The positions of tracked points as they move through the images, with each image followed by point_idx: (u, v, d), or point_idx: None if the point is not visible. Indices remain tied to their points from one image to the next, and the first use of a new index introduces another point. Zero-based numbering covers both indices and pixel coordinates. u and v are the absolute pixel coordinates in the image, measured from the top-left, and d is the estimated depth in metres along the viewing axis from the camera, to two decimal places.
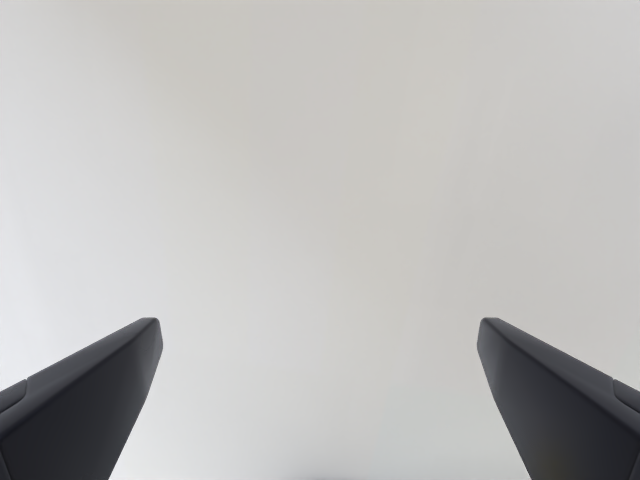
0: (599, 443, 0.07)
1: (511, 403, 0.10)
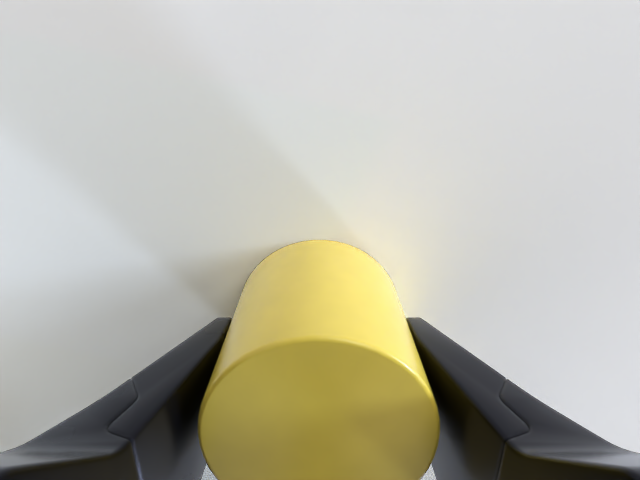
0: (477, 444, 0.07)
1: None
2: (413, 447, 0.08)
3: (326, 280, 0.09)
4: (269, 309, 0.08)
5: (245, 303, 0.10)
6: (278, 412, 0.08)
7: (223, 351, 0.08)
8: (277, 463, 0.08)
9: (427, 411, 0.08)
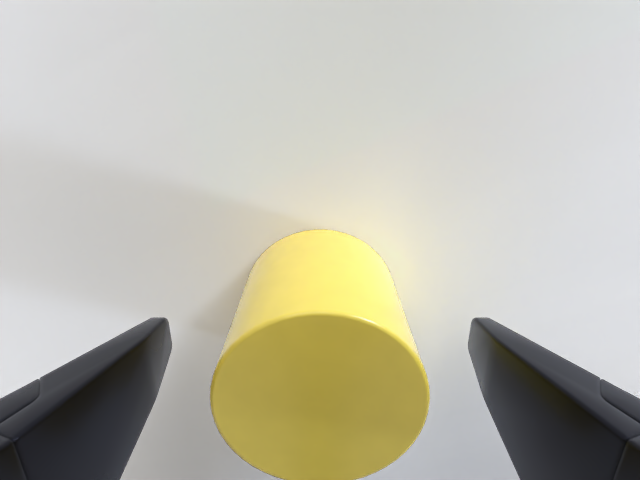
0: (584, 444, 0.07)
1: (500, 403, 0.10)
2: (405, 414, 0.09)
3: (327, 264, 0.10)
4: (274, 289, 0.09)
5: (252, 286, 0.11)
6: (282, 381, 0.09)
7: (232, 328, 0.09)
8: (282, 429, 0.09)
9: (417, 380, 0.09)
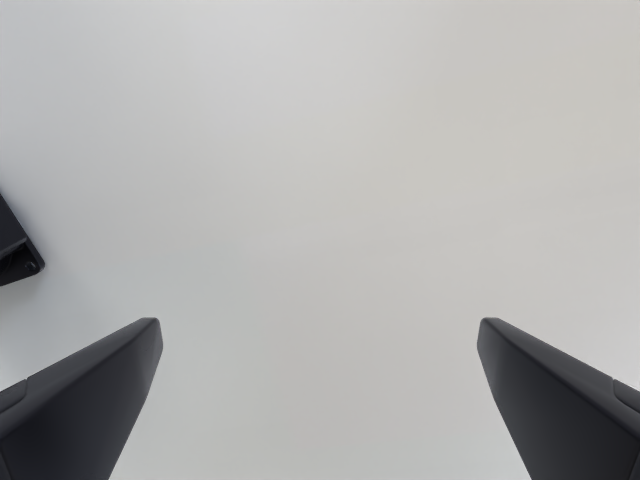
0: (599, 443, 0.07)
1: (511, 403, 0.10)
2: None
3: None
4: None
5: None
6: None
7: None
8: None
9: None
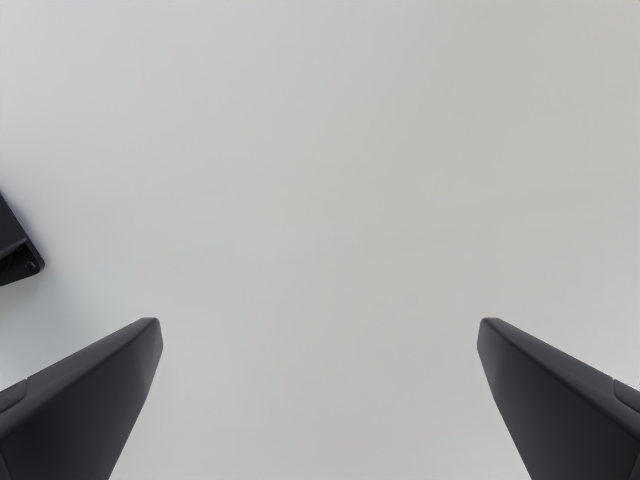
0: (599, 443, 0.07)
1: (511, 403, 0.10)
2: None
3: None
4: None
5: None
6: None
7: None
8: None
9: None
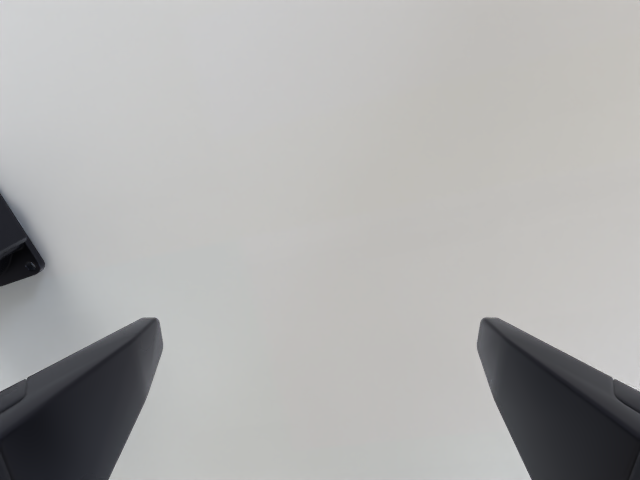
0: (599, 443, 0.07)
1: (511, 403, 0.10)
2: None
3: None
4: None
5: None
6: None
7: None
8: None
9: None
